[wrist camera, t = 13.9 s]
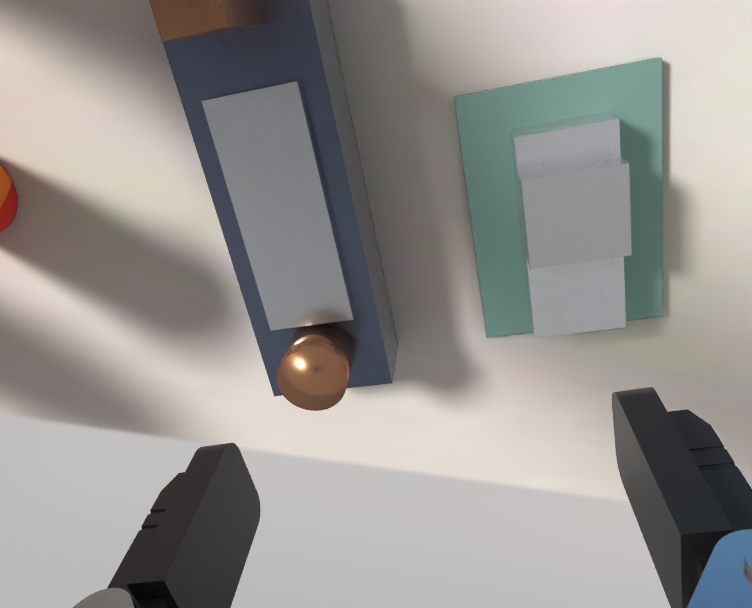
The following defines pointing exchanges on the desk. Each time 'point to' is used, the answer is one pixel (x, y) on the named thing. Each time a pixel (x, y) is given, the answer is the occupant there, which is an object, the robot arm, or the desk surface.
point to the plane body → (286, 187)
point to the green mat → (498, 193)
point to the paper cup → (7, 199)
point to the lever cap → (573, 222)
